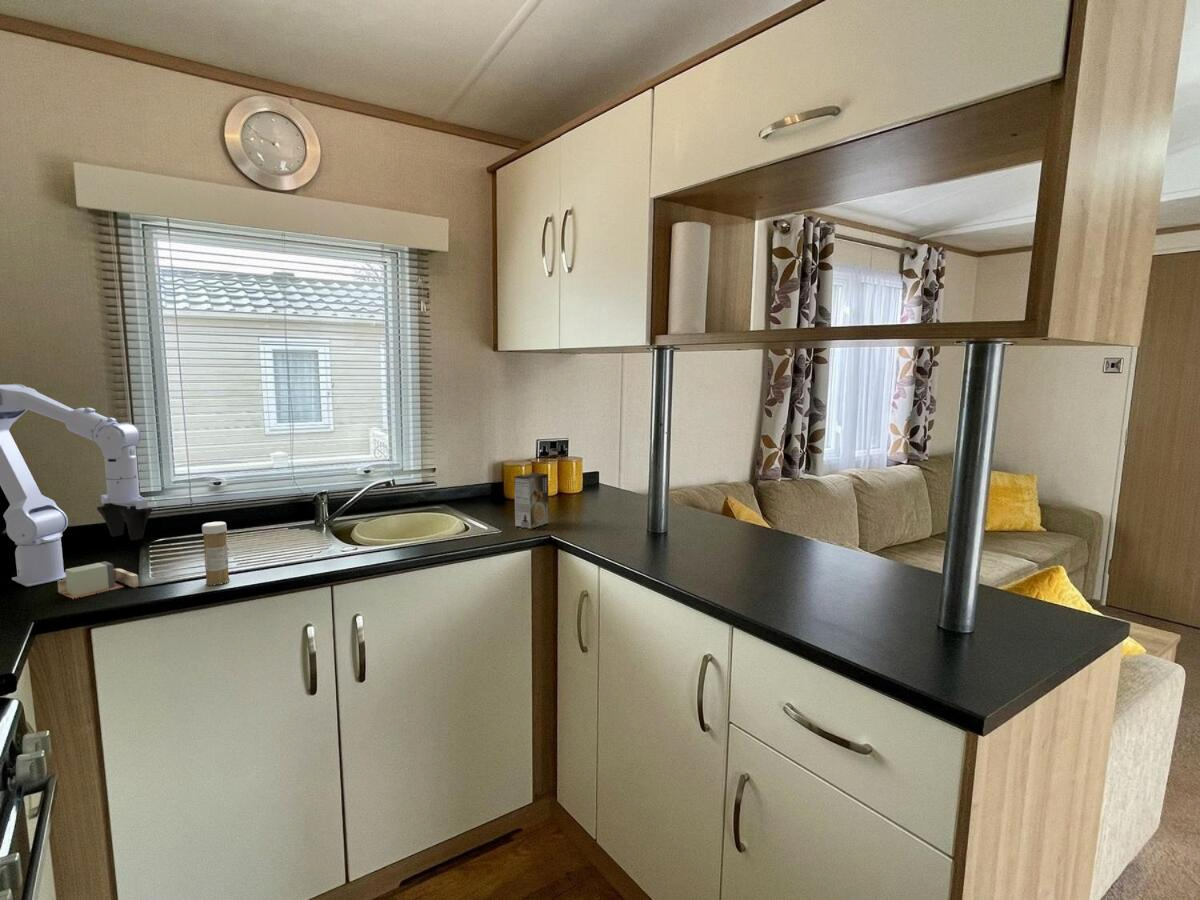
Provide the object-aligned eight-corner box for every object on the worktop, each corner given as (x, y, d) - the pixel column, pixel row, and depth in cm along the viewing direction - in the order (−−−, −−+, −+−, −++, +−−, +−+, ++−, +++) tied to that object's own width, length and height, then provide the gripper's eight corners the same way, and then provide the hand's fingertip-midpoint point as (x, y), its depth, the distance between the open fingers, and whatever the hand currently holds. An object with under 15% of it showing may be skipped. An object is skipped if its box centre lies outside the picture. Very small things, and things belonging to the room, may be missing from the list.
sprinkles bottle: (212, 579, 142) (208, 521, 140) (233, 579, 142) (230, 520, 141) (201, 586, 137) (197, 525, 136) (223, 585, 138) (219, 525, 136)
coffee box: (533, 522, 201) (532, 472, 199) (549, 524, 197) (548, 473, 195) (514, 527, 193) (513, 475, 191) (530, 530, 189) (530, 477, 188)
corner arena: (58, 592, 133) (57, 581, 133) (119, 578, 142) (118, 568, 142) (76, 600, 128) (75, 589, 128) (138, 586, 137) (137, 575, 137)
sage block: (67, 592, 132) (65, 569, 132) (107, 583, 138) (105, 561, 138) (74, 596, 130) (72, 572, 130) (115, 586, 136) (113, 564, 136)
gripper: (83, 477, 140) (88, 537, 141) (120, 482, 134) (125, 545, 135) (119, 473, 146) (123, 531, 148) (156, 478, 140) (160, 538, 141)
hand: (127, 537), depth 142 cm, fingers open, 7 cm apart
